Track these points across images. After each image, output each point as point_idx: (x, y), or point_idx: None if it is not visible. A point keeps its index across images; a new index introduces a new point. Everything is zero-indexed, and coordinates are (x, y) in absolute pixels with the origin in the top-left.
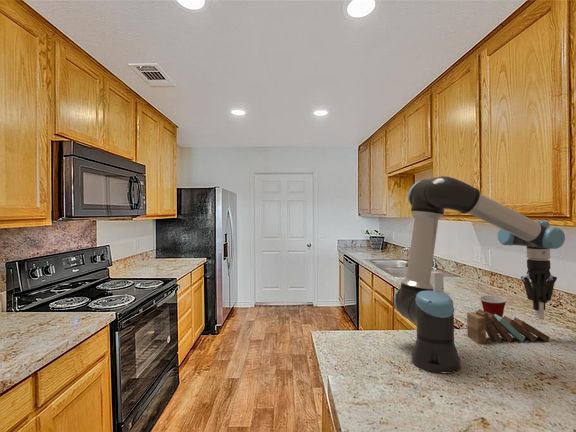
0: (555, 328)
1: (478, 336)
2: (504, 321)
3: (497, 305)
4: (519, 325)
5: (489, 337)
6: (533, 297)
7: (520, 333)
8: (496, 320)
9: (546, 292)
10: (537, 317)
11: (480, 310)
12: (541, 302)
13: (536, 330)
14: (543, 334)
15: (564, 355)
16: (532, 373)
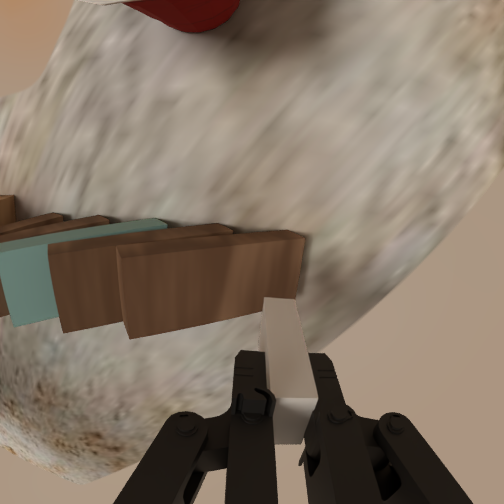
0: (466, 136)
1: None
2: (34, 318)
3: (131, 1)
4: (116, 320)
5: (51, 214)
6: (187, 485)
7: (185, 228)
8: (1, 313)
9: (401, 501)
10: (262, 322)
11: None
12: (293, 436)
13: (221, 316)
14: (261, 308)
15: (225, 398)
16: (81, 430)
